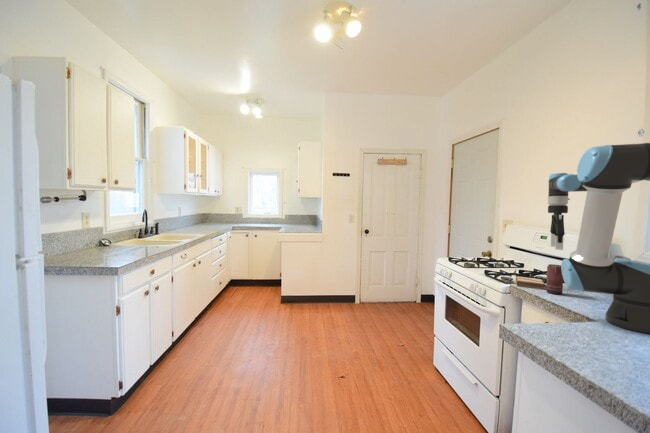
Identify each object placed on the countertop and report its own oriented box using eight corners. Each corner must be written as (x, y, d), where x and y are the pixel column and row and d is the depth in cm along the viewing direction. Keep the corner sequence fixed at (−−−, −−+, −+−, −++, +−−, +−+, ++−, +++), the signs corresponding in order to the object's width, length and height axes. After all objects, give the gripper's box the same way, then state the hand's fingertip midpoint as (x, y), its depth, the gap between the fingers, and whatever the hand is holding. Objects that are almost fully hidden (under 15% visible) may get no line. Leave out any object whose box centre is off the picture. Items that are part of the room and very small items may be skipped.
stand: (545, 289, 143) (545, 284, 142) (516, 286, 149) (517, 280, 149) (541, 284, 153) (542, 279, 153) (515, 281, 159) (515, 276, 159)
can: (548, 294, 135) (549, 265, 135) (545, 290, 141) (546, 263, 141) (564, 296, 133) (565, 267, 132) (560, 292, 138) (561, 264, 138)
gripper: (574, 204, 123) (572, 251, 124) (562, 205, 145) (561, 246, 145) (552, 204, 127) (550, 250, 128) (544, 205, 148) (543, 245, 149)
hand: (556, 248), depth 136 cm, fingers open, 13 cm apart
